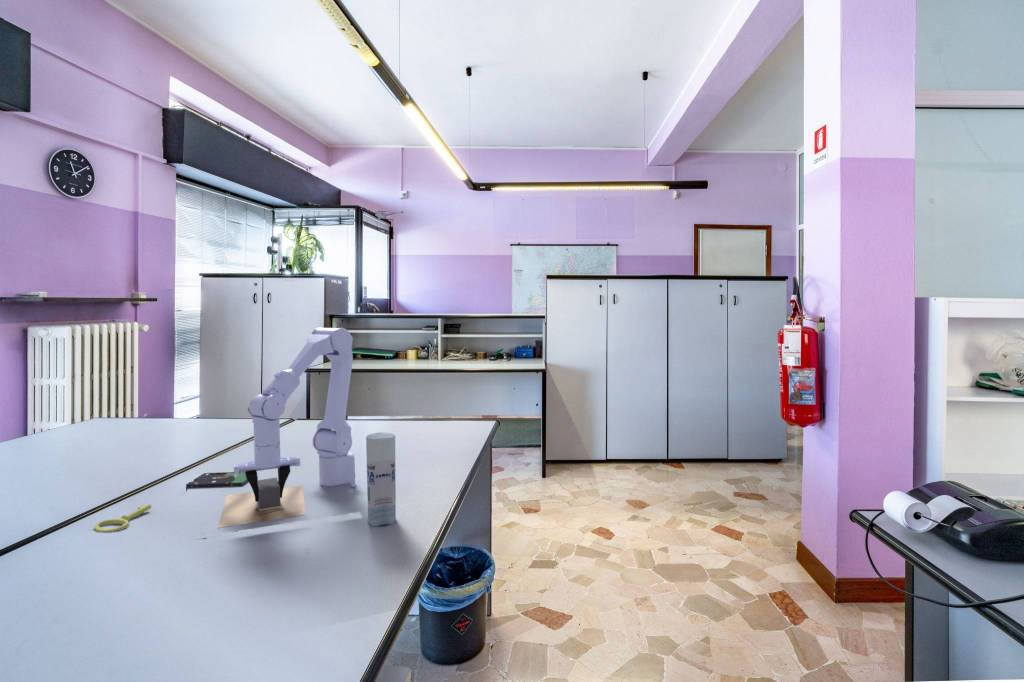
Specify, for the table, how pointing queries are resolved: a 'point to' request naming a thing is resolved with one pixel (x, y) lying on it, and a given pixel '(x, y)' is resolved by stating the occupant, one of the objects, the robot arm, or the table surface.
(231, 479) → the disk drive
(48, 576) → the table surface
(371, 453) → the spray paint can
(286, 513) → the oak board
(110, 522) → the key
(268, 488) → the block
